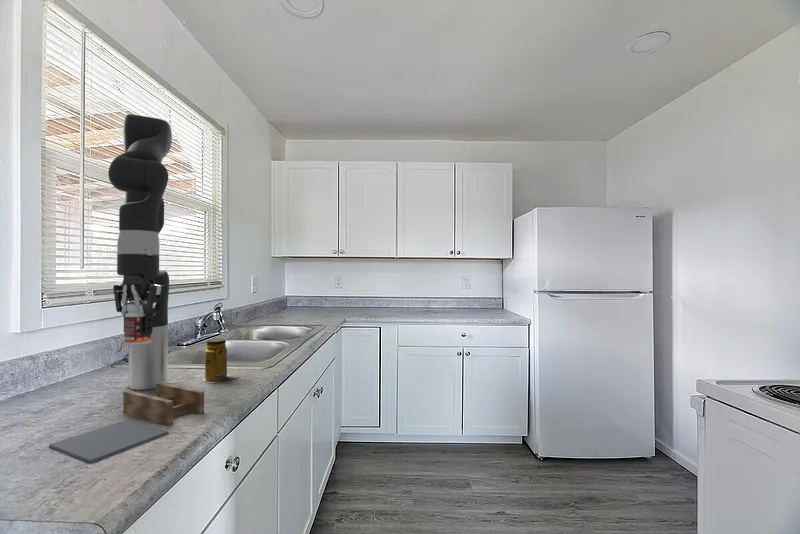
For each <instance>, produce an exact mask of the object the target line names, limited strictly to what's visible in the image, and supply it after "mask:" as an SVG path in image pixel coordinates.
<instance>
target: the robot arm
mask: <svg viewBox="0 0 800 534" xmlns="http://www.w3.org/2000/svg"><path fill="white" fill-rule="evenodd" d="M123 119H124V120H123V126H122V127H123V128H122V130H123V131H122V132H123V145H124V146H123V147H124V148H123V149H124V152H123V153H120V154H119V155H117V156H116V157H115V158H114V159H112V161H111V163H110V164H109V167H108V174H107V177H108V180H109V182H110V185H112V187H114V188H115V189H116V190H119V191H121V192H125V196H124V197H125V198H124V199H125V201H124V203H123V204H121V205H120V206H119V209H118V212H119V213H118V235H117V241H116V243H117V244H116V248H117V249H116V251H117V253H116V274H117V275H118V276H123V280H122V281H121V284H114V285H113V287H112V288H113V296H114V303H115V309H116V312H117V313H121V315H122V316H123V333H124V334H125V314H126V313H128V311H127V304H136V306H138V307H139V311H140V315H141V317H140V334H141V335H147V334H151V342H150V343H148V344H141V345H129V353H128V381H127V382H128V387H129V389H131V390H137V391H139V390H149V389H156V383H160V382H162V383H167V384H168V369H169V368H168V362H169V361H168V360H169V358H168V356H169V355H168V353H169V352H168V350H169V347H168V346H169V344H168V343H169V334H168V333H169V318H168V317H169V312H168V311H169V309H168V306H169V294H170V293H169V292H170V291H169V290H170V276H169V273H168V271H166V270H164V269H160V237H159V235H160V233H161V231H162V229H163V228H164V224H165V201H164V199H163V196H164V193H165V191H166V189H167V185H168V182H169V172H168V169H167V168H166V165H164V163H162V161H163V159H164V158H165V157H166V156H167V155H168V154H169V153H170V150H171V148H172V143H173V133H172V127H171V125H170V123H169V122H168V121H166V120H164V119H162V118H157V117H152V116H151V117H150V116H145V115H139V114H133V113H132V114H131V113H129V114H126V115H125V117H124V118H123ZM145 306H146V310H145Z"/></svg>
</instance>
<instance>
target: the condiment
mask: <svg viewBox="0 0 800 534" xmlns="http://www.w3.org/2000/svg"><path fill="white" fill-rule="evenodd" d="M226 342H227V341H226V340H225V339H222V338H217V339H216V338H215V339H210V340H207V341H206V349H205V353H204V356H205V357H204V358H205V359H204V361H205V362H204V365H205V366H204V373H205V374H204V377H205V378H200V379H199V380H200V381H203V382H206V383H209V384H210V385H211V384H218V383H222V382H225V381H229V380H234V379H237V378H238V376H234V375H231V374H228V349H227V348H226V346H227V345H226Z"/></svg>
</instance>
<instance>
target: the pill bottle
mask: <svg viewBox="0 0 800 534" xmlns="http://www.w3.org/2000/svg"><path fill="white" fill-rule="evenodd" d="M145 310H146V306H145ZM127 311H128V313H126V314H125V333H124V336H123V337H124V340H123V341H124V345H127V346H130V345H141V344H148V343H150V342H151V334H147V335H141V334H140V317H141V315H140V311H139V307H138V306H136V304H127Z"/></svg>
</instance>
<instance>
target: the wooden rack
mask: <svg viewBox="0 0 800 534" xmlns="http://www.w3.org/2000/svg"><path fill="white" fill-rule="evenodd" d="M122 398H123V406H122V407H123V412H122V413H123V414H124V415H127V416H131V417H135V418H138V419H141V420H145V421H148V422H149V421H150V422H153V423H156V424H161V425H164V426H166V427H167V426H171V425H173V424H174V418H175V417H178V416H182V415H184V414H187V413H193V414H197V415H201V414H204V413H205V391H204V390H201V389H197V388H196V389H195V388H190V387H186V386H179V385H177V384H176V385H175V384H170V383H168V382H167V383H162V382H160V383H156V388H155V395H150V394H145V393H141V392H136V391H132V390H126V391H123V397H122Z"/></svg>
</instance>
